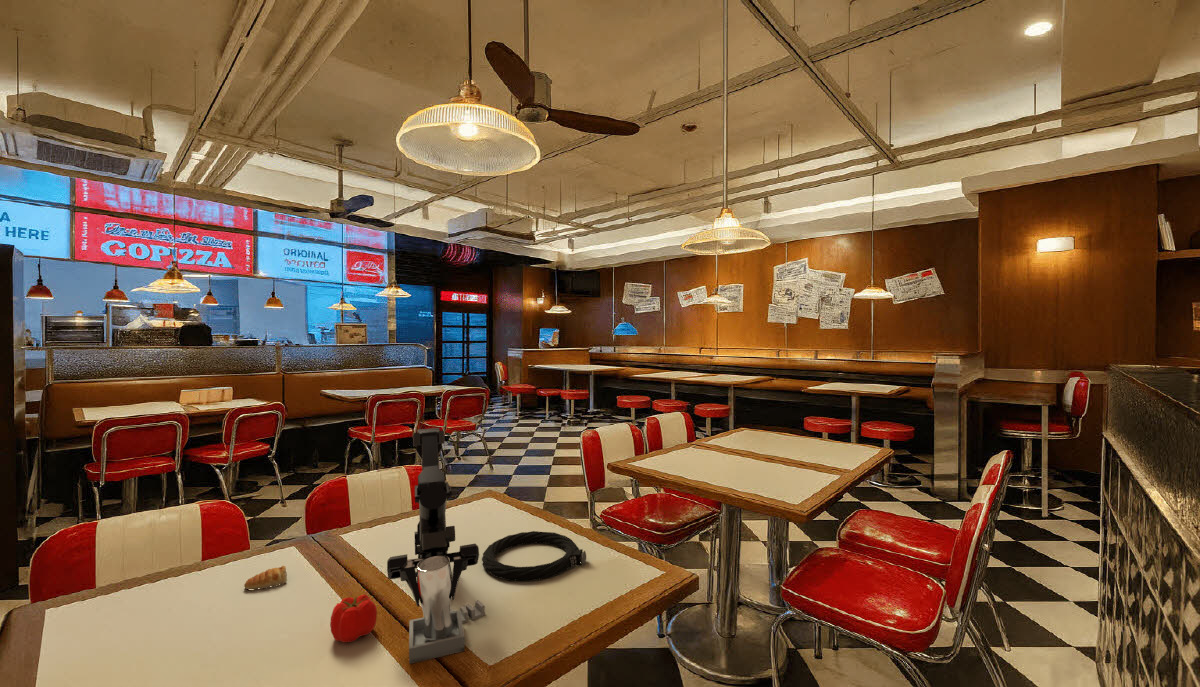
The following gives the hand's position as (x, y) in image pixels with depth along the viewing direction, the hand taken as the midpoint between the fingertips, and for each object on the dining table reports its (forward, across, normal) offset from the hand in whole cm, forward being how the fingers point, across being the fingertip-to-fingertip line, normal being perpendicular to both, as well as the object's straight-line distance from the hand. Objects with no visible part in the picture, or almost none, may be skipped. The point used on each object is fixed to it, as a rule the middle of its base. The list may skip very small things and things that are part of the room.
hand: (435, 602), depth 101 cm
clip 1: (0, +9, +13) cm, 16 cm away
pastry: (-24, -40, +38) cm, 61 cm away
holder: (+6, 0, +7) cm, 9 cm away
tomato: (-1, -17, +14) cm, 22 cm away
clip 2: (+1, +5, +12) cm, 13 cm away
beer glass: (+4, 0, +6) cm, 8 cm away
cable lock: (-15, +28, +29) cm, 43 cm away
